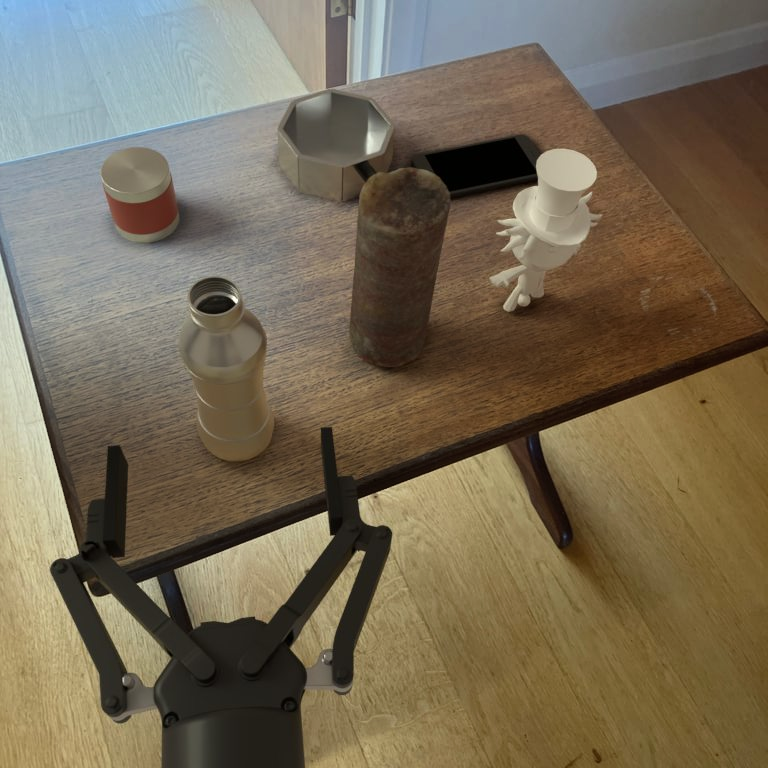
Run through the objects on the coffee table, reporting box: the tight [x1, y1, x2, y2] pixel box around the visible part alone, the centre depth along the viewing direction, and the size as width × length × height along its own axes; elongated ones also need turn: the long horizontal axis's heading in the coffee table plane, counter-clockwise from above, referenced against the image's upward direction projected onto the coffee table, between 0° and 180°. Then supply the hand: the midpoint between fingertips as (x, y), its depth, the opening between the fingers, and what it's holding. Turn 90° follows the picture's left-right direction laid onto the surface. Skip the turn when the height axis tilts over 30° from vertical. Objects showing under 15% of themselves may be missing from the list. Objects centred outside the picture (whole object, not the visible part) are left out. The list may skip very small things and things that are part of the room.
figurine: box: [489, 148, 604, 313], centre depth 76 cm, size 10×8×18 cm
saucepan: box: [276, 88, 396, 203], centre depth 90 cm, size 18×12×5 cm, turn 30°
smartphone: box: [410, 134, 542, 199], centre depth 94 cm, size 7×15×1 cm, turn 109°
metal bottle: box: [177, 275, 275, 462], centre depth 65 cm, size 6×7×20 cm
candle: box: [348, 166, 452, 368], centre depth 71 cm, size 8×7×20 cm
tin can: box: [100, 146, 180, 244], centre depth 84 cm, size 7×7×7 cm
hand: (223, 445), depth 54 cm, fingers open, 13 cm apart
